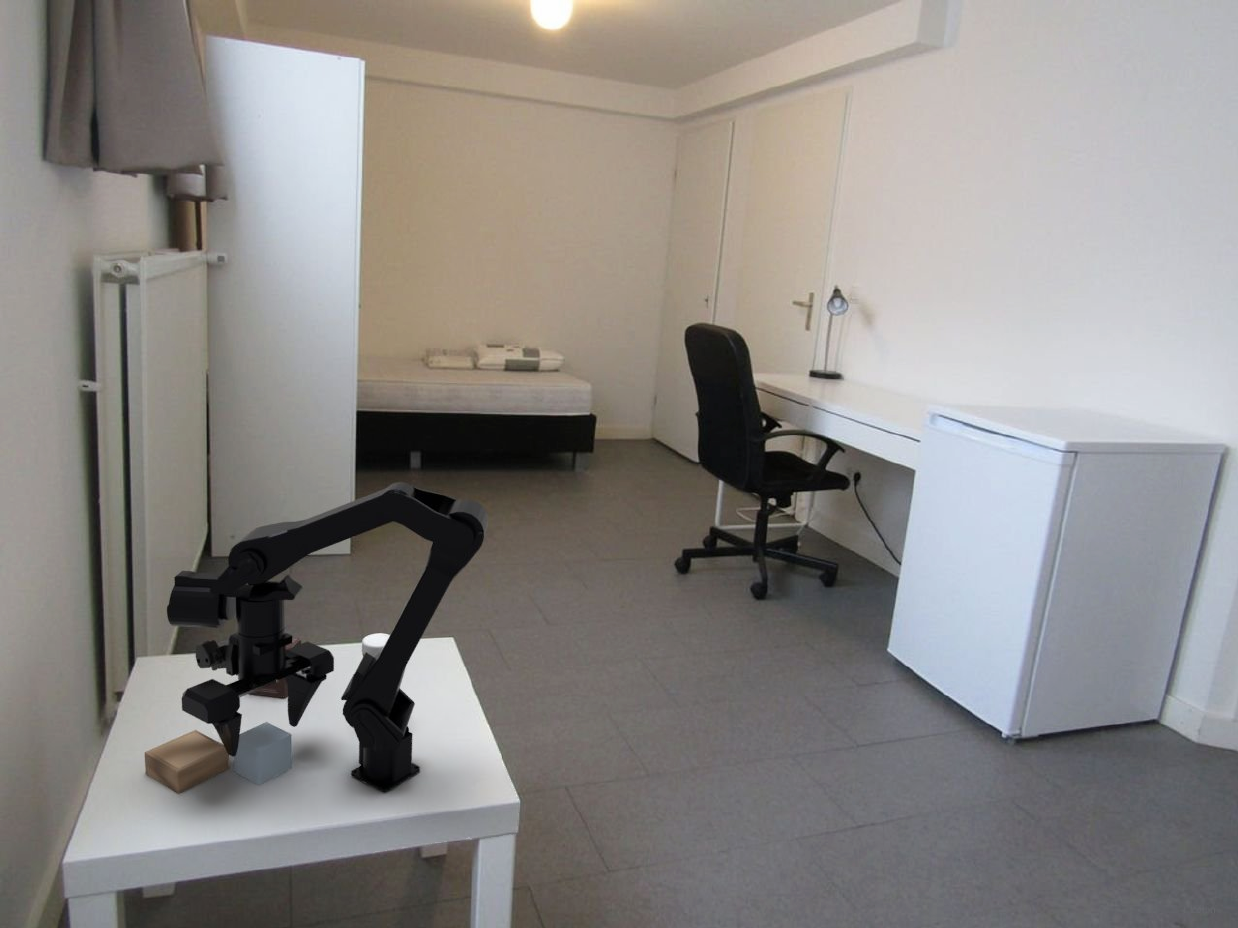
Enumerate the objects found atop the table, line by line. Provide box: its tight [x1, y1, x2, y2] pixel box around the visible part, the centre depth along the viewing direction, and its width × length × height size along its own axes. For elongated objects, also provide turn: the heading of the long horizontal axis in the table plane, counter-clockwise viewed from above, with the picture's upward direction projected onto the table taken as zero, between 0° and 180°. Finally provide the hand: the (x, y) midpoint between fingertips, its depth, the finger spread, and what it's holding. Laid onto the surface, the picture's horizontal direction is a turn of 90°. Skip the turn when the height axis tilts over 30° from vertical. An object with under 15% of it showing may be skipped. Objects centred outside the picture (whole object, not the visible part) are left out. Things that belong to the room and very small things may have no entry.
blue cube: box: [233, 721, 293, 786], centre depth 115 cm, size 5×5×5 cm
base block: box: [144, 729, 230, 794], centre depth 114 cm, size 7×7×3 cm
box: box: [248, 637, 302, 698], centre depth 136 cm, size 6×6×7 cm
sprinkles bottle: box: [361, 632, 390, 657], centre depth 127 cm, size 5×5×14 cm
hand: (263, 739), depth 114 cm, fingers open, 9 cm apart
